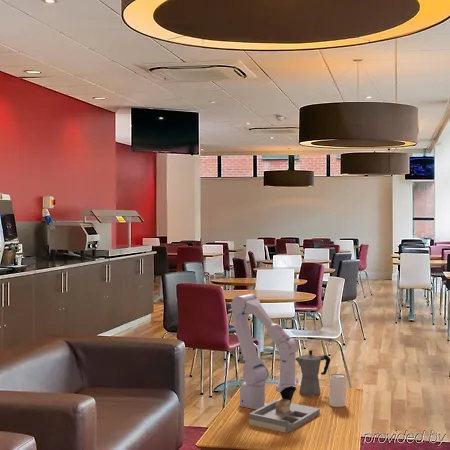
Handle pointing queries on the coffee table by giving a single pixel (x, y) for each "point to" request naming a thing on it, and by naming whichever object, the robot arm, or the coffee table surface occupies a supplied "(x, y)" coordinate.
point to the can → (337, 390)
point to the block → (282, 405)
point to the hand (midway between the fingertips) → (286, 405)
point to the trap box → (282, 417)
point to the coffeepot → (311, 373)
